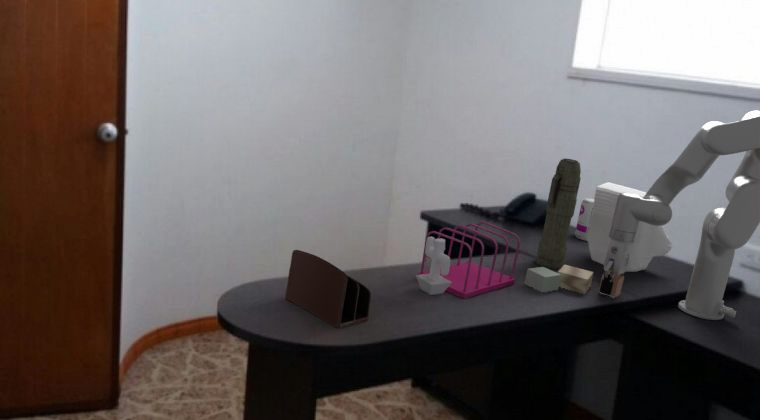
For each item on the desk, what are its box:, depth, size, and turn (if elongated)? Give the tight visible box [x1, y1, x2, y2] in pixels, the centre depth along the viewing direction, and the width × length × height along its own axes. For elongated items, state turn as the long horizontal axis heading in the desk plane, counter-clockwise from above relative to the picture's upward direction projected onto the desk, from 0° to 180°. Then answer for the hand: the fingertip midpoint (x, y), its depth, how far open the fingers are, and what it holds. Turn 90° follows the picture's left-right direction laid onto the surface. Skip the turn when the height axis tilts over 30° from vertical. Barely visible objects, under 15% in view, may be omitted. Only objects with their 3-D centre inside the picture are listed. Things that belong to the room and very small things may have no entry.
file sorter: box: [416, 221, 521, 299], centre depth 217 cm, size 17×25×16 cm
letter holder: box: [285, 249, 372, 329], centre depth 182 cm, size 10×20×14 cm, turn 46°
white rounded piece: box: [586, 181, 673, 273], centre depth 254 cm, size 21×27×26 cm
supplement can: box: [574, 197, 594, 242], centre depth 285 cm, size 8×8×15 cm
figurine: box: [415, 236, 452, 296], centre depth 205 cm, size 7×9×15 cm
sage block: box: [524, 266, 561, 293], centre depth 223 cm, size 7×7×5 cm
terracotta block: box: [598, 274, 625, 297], centre depth 225 cm, size 5×5×6 cm
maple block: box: [557, 264, 595, 294], centre depth 228 cm, size 9×9×5 cm
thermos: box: [535, 158, 582, 270], centre depth 243 cm, size 9×12×35 cm
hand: (610, 290), depth 226 cm, fingers open, 8 cm apart
